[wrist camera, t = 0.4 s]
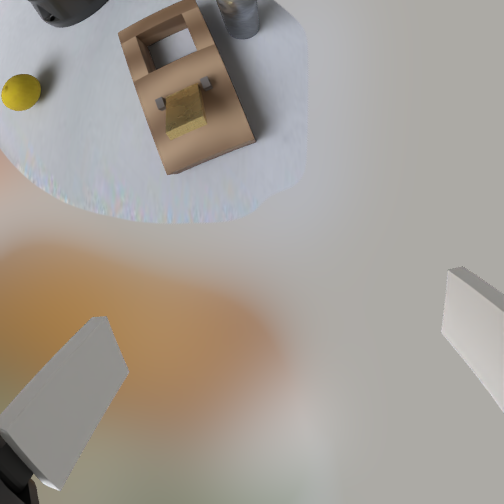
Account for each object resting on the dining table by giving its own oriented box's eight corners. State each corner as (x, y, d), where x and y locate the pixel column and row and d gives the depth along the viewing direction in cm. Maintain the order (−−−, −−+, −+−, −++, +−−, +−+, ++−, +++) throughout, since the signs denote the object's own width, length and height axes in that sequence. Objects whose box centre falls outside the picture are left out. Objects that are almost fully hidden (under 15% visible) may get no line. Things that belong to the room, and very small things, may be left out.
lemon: (45, 71, 31) (11, 62, 24) (54, 96, 32) (19, 89, 25) (23, 95, 32) (-11, 90, 25) (32, 119, 33) (-4, 117, 26)
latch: (170, 101, 29) (166, 95, 28) (200, 88, 28) (197, 81, 28) (170, 140, 25) (165, 132, 24) (207, 124, 25) (202, 115, 24)
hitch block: (130, 42, 30) (113, 29, 25) (200, 10, 29) (190, -9, 24) (177, 173, 35) (163, 175, 30) (256, 142, 33) (253, 137, 28)
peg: (222, 20, 29) (200, -36, 17) (252, 10, 28) (243, -49, 16) (233, 43, 30) (214, -9, 18) (264, 33, 29) (260, -23, 17)
